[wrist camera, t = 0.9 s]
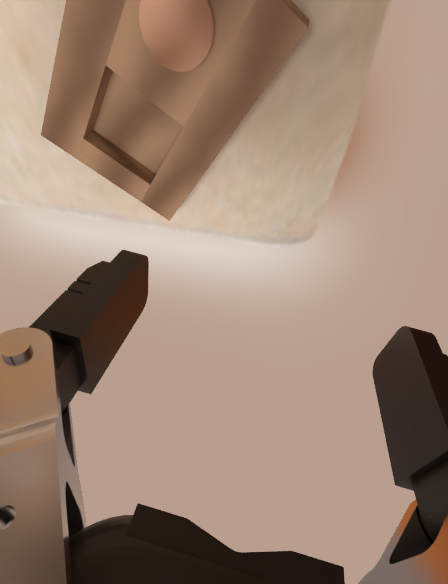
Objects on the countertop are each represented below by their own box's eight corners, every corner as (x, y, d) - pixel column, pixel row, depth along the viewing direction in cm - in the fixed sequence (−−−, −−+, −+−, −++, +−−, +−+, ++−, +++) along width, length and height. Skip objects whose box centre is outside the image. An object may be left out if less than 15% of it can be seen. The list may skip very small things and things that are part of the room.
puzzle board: (58, 122, 31) (37, 137, 29) (127, -181, 17) (97, -199, 15) (177, 205, 35) (167, 223, 33) (308, 20, 22) (307, 30, 19)
